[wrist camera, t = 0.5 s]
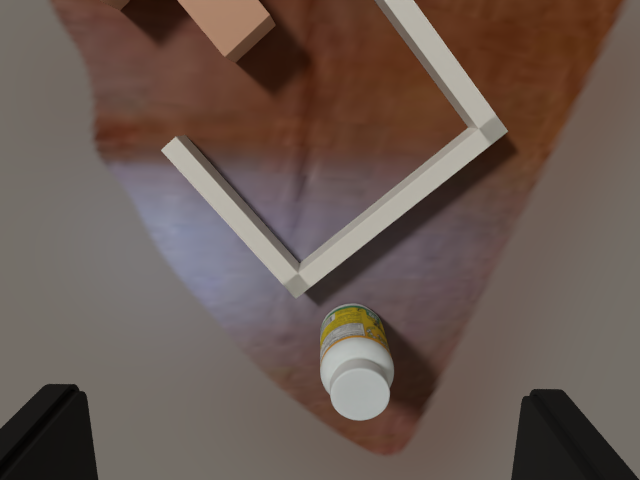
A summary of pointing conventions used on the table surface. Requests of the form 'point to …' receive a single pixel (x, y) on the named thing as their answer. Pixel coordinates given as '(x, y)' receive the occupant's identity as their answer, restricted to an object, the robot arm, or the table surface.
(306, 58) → the table surface
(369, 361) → the supplement bottle
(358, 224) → the frame
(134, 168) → the table surface
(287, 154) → the table surface
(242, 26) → the t block
